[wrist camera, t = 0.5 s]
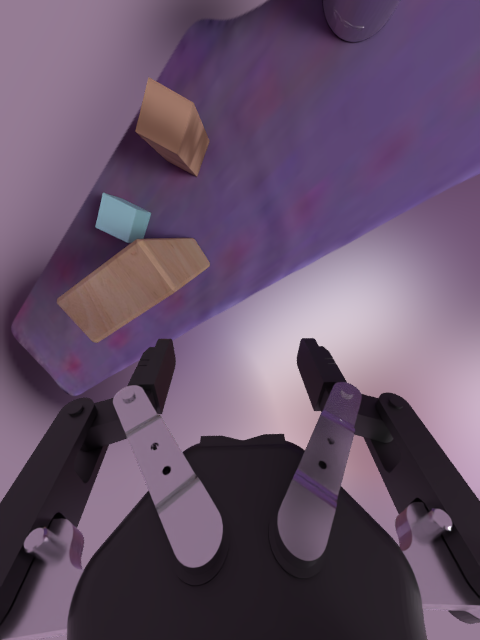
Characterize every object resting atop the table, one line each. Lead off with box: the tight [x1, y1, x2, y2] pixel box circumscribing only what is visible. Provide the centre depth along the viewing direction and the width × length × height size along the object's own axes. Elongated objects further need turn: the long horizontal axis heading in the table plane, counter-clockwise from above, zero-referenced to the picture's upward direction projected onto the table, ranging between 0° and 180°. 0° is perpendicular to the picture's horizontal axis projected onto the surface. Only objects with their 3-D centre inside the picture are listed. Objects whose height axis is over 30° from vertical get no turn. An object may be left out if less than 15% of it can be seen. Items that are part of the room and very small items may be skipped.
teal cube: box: [96, 193, 151, 243], centre depth 35 cm, size 5×5×5 cm
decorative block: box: [57, 238, 210, 343], centre depth 30 cm, size 11×6×20 cm, turn 121°
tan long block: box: [135, 78, 209, 176], centre depth 29 cm, size 5×5×10 cm
